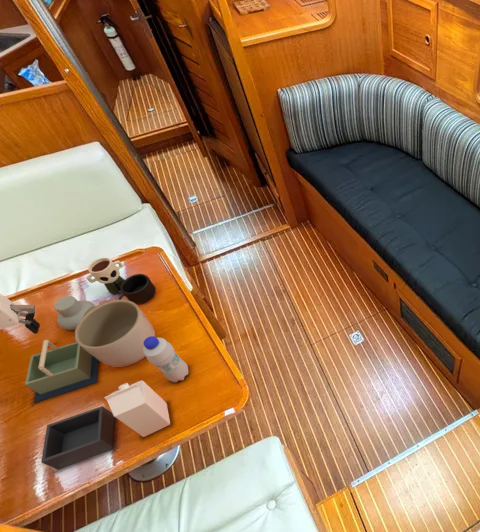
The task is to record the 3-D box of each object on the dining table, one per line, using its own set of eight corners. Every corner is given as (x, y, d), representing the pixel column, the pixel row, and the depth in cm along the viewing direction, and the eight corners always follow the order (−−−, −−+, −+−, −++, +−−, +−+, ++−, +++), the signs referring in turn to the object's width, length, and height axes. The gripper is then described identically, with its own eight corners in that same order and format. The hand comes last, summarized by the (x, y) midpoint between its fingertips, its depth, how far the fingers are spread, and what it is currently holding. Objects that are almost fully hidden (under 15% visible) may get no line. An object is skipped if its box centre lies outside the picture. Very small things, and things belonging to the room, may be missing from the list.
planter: (104, 383, 118) (73, 358, 107) (103, 339, 128) (75, 312, 117) (164, 360, 123) (141, 333, 112) (159, 319, 133) (138, 291, 122)
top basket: (40, 394, 115) (11, 376, 107) (45, 365, 121) (18, 346, 113) (90, 378, 119) (66, 359, 110) (93, 351, 125) (70, 331, 116)
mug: (146, 282, 144) (136, 270, 139) (163, 292, 141) (154, 279, 136) (117, 306, 137) (106, 293, 132) (134, 316, 134) (124, 304, 129)
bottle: (164, 374, 120) (131, 340, 105) (185, 360, 123) (156, 325, 108) (173, 389, 117) (141, 356, 102) (195, 374, 120) (166, 340, 105)
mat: (34, 403, 114) (33, 402, 114) (42, 362, 122) (41, 362, 122) (96, 382, 118) (96, 382, 118) (99, 345, 127) (99, 344, 126)
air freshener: (83, 335, 129) (64, 317, 122) (60, 332, 130) (39, 315, 122) (103, 308, 136) (87, 290, 129) (81, 306, 137) (63, 288, 130)
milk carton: (170, 424, 110) (137, 396, 96) (143, 437, 108) (105, 410, 94) (167, 403, 114) (134, 372, 100) (140, 415, 112) (103, 385, 98)
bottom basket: (57, 469, 102) (41, 462, 97) (62, 433, 108) (47, 424, 103) (113, 449, 106) (99, 441, 101) (115, 415, 112) (102, 405, 107)
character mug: (107, 303, 138) (86, 279, 128) (100, 292, 141) (78, 268, 131) (139, 285, 143) (120, 261, 133) (131, 275, 146) (112, 251, 137)
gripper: (-89, 319, 87) (-28, 358, 99) (5, 296, 91) (52, 335, 104) (-78, 294, 91) (-21, 334, 104) (12, 273, 96) (55, 314, 109)
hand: (15, 335), depth 104 cm, fingers open, 9 cm apart
